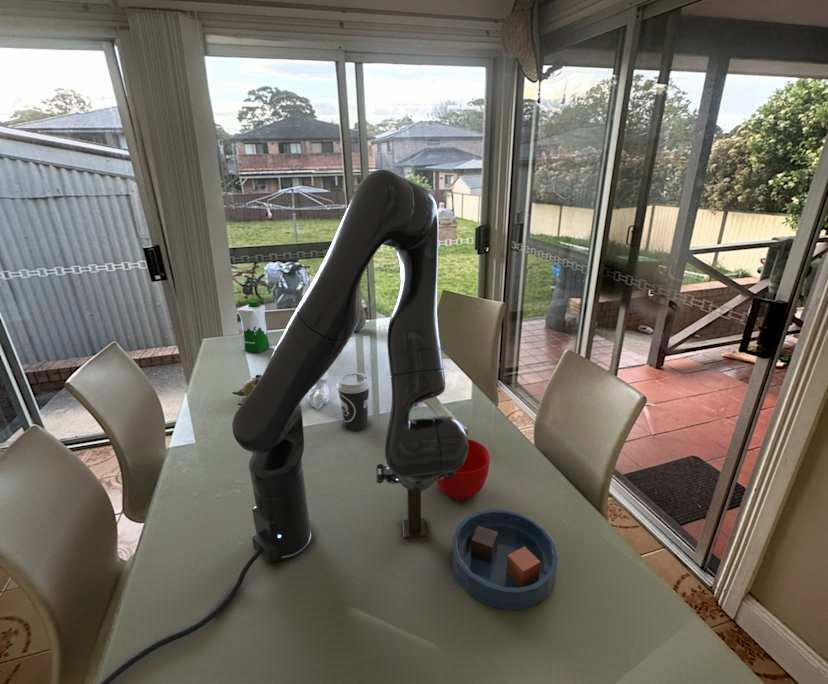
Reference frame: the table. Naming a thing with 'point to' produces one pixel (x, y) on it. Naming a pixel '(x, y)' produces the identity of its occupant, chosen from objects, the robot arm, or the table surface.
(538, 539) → the bowl
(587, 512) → the table surface
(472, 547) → the walnut block
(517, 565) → the terracotta block
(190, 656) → the table surface
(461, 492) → the ceramic cup
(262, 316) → the soya milk
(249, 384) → the ceramic sculpture
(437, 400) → the flower vase
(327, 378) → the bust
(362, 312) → the decorative egg
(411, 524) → the wooden post with base
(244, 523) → the table surface
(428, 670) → the table surface
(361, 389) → the coffee cup
